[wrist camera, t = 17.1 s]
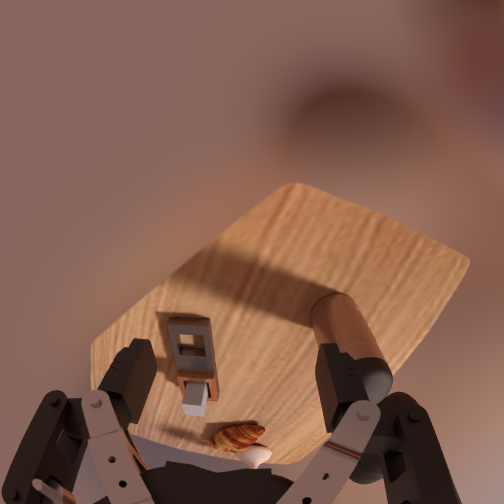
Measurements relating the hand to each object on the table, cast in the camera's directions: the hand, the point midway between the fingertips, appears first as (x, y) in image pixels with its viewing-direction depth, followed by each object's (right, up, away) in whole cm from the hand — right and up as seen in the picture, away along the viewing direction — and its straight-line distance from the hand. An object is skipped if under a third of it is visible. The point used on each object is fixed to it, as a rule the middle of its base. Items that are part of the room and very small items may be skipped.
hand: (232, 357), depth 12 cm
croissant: (-4, -47, +55) cm, 72 cm away
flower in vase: (+2, -58, +59) cm, 82 cm away
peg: (-11, -24, +45) cm, 52 cm away
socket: (-11, -18, +43) cm, 48 cm away
